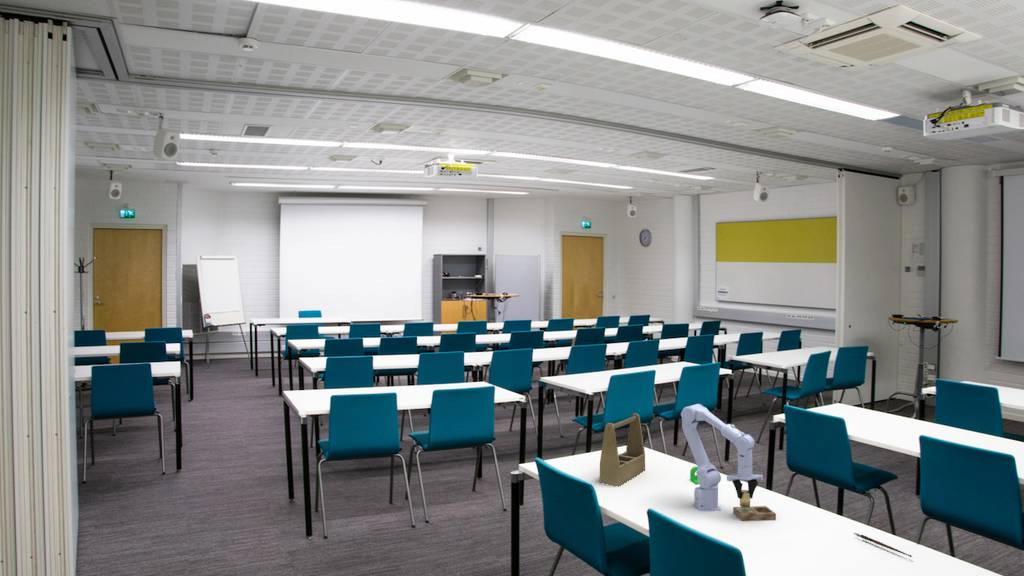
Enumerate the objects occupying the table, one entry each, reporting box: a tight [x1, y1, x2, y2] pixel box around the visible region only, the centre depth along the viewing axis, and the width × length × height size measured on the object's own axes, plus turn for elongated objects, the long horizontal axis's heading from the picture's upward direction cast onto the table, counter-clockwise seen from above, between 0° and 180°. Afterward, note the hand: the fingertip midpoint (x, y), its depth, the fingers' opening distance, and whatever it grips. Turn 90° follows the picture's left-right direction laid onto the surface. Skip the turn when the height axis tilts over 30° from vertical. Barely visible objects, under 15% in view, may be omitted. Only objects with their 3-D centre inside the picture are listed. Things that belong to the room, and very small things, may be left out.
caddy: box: [599, 413, 646, 488], centre depth 325 cm, size 29×11×30 cm, turn 144°
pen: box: [853, 532, 913, 558], centre depth 243 cm, size 1×1×23 cm
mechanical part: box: [689, 465, 699, 485], centre depth 317 cm, size 12×6×8 cm, turn 102°
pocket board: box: [732, 505, 777, 522], centre depth 273 cm, size 14×9×3 cm, turn 94°
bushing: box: [739, 489, 751, 508], centre depth 273 cm, size 4×4×6 cm
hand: (744, 497), depth 273 cm, fingers closed on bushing, 4 cm apart
